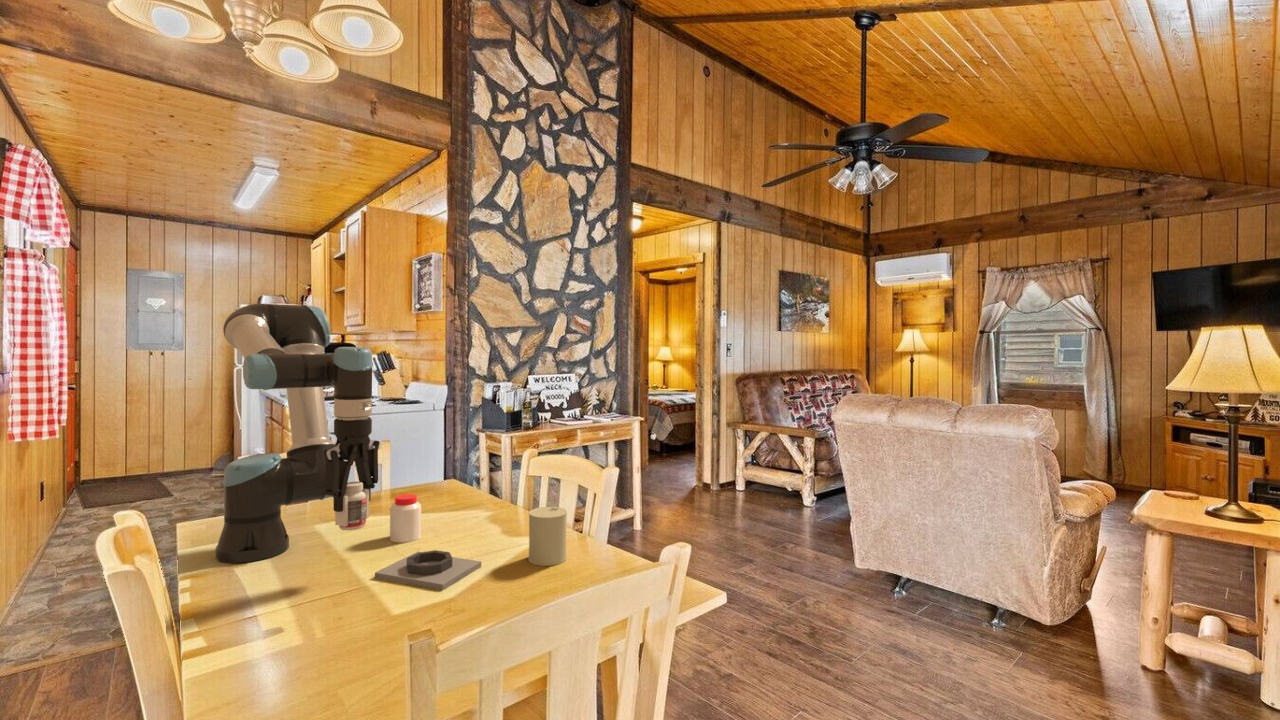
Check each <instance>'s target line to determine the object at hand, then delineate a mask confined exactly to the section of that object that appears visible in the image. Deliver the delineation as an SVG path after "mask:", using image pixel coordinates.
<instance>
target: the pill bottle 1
mask: <svg viewBox="0 0 1280 720" xmlns="http://www.w3.org/2000/svg"><path fill="white" fill-rule="evenodd" d="M362 490H363V483H362V482H359V481H348V482H347V487H346V492H345V495H344V496H348V526H345V527H344V526H339V525H338V527H339V529H340V530H342V531H356V530H360V529H362V528H364V527H365V526H366V525H367V524H366V523H367V518H366V494H365V493H364V492H362Z"/></svg>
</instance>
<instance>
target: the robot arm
mask: <svg viewBox="0 0 1280 720" xmlns="http://www.w3.org/2000/svg"><path fill="white" fill-rule="evenodd" d="M222 330H223V331H222V333H223V336H224V338H225V340H226V342H227V343H228V344H229V345H230V346H231V347H232V348H234V349H235V350H238V351H239V353H240V354H241V356H242V357H243V362H242V377H243V378H242V379H243V380H244V385H245V387H246V388H247V389H250V390H264V391H268V390H281V389H285V390H286V395H287V405H288V412H289V413H288V414H289V423H290V424H289V426H290V434H291V446H290V447H289V448H288V449H287V451H286V457H285V458H282V456H281V455H280V453H278V452H267V453H260V454H259V453H258V454H254V455H250V456H245V457H241V458H238V459H235V460H233V461H232V462H229V463H228V464H227V465H226V466H225V468H224V472H223V473H224V474H223V482H222V486H223V502H224V503H223V504H224V505H223V509H224V511H223V513H224V514H223V517H224V518H223V528H222V530H221V533H220V536H219V538H218V543H217V545H216V546H215V559H216V560H217V559H218V560H220V561H219V562H221V561H223V562H222V563H228V562H229V563H230V564H233V563H234V564H236V563H239V562H240V563H249V562H250V563H251V562H256V561H262V560H266V559H269V558H273V557H275V556H278V555H280V554H282V553H284V552H286V551H287V550H288V549H289V548H290V537H289V534H288V533H287V529H286V527H285V524H284V521H283V519H282V511H281V509H282V506H286V505H293V504H299V503H305V502H311V501H316V500H320V501H323V500H325V499H329V498H333V512H335V513H334V514H335V520H334V521H335V522H334V523H335V526H338V527H339V526H344V527H345V526H348V496H344V495H345V492H346V487H347V483H348V482H349V477H350V473H351V467H352V466H353V465H354V466H355V468H356V469H355V470H356V474H357V479H358V482H362V483H363V490H362V492H364V493H365V494H366V519H369V518H370V502H371V500H372V498H371V497H372V495H371V494H372V493H371V491H372V490H371V489H375V486H376V485H375V484H378V482H379V454H378V453H379V448H380V444H381V443H380V441H379V440H374V439H371V438H370V437H369V436H370V435H371V434H372V431H373V430H372V427H373V419H372V418H371V417H370V416H371V415H372V413H373V412H372V408H373V407H372V406H373V405H372V404H373V399H372V397H373V367H374V361H373V352H372V350H371V349H370V348H369V347H365V346H364V347H361V346H340V347H337V348H335V349H334V352H330V353H325V348H327V347H328V345H329V344H330V342H331V327H330V322H329V318H328V316H327V314H326V312H325V311H324V310H323V309H322V308H321V307H318V306H315V305H313V306H312V305H307V304H301V305H299V304H278V303H277V304H276V303H275V304H274V303H273V304H272V303H254V304H248V305H245V306H243V307H240V308H237V309H236V310H235V311H232V313H230V315H228V317H227V318H226V320H225V322H224V324H223V329H222ZM331 387H333V389H334V390H333V391H334V392H333V393H334V394H333V395H334V396H333V416H334V417H336V418H335V419H334V420H333V434H334V436H335V438H336V441H335V442H333V441H332V440H331V439H330V435H329V434H330V433H329V427H328V418H327V412H326V411H327V410H326V401H325V394H324V388H331ZM218 560H217V561H218Z"/></svg>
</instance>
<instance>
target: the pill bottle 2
mask: <svg viewBox="0 0 1280 720" xmlns="http://www.w3.org/2000/svg"><path fill="white" fill-rule="evenodd" d="M389 516H390V518H389V540H390V541H391V542H394V543H400V544H401V543H402V544H403V543H411V542H415V541H418V540H419V539H421V538H422V504H421V502H419V501H418V496H417V495H416V494H413V493H412V494H411V493H406V494H399V495H396V496H394V503H393V504H392V505H391V506H390V507H389Z"/></svg>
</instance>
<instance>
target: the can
mask: <svg viewBox="0 0 1280 720" xmlns="http://www.w3.org/2000/svg"><path fill="white" fill-rule="evenodd" d="M567 514H568V513H567V509H565V508H562V507H560V506H559V507H557V506H542V507H536V508H533V509H530V511H529V512H528V518H529V519H528V525H529V526H528V529H529V530H528V531H529V532H528V533H529V534H528V540H529V541H528V559H527V560H528V562H529V563H530V564H532V565H534V566H541V567H548V566H549V567H553V566H557V565H560V564H563V563H564V562H566V561H567V558H568V557H567ZM562 562H563V563H562Z"/></svg>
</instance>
